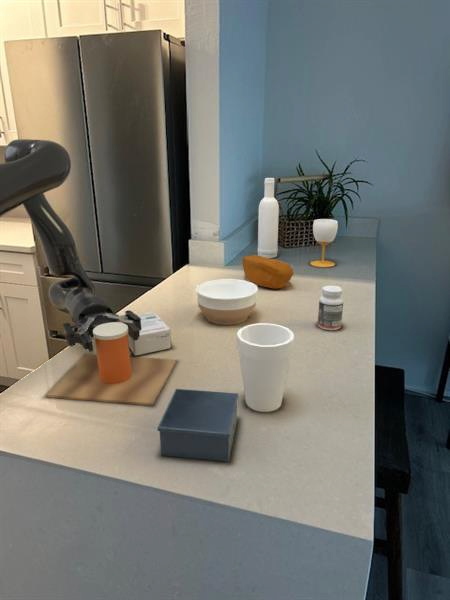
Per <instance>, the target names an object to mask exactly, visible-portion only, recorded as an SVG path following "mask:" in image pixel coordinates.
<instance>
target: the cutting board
mask: <svg viewBox="0 0 450 600" xmlns="http://www.w3.org/2000/svg"><path fill="white" fill-rule="evenodd" d="M176 363H177V359H166V358H150V357H137V356H130V364H131V377H130V378H129V379H128V380H126V381H124V382H121V383H117V384H107V383H104V382H102V381H101V380H100V376H99V368H98V360H97V354H91V353H90V354H89V353H84V355H83V356H82V357H81V358H80V359H79V360H78V361H77V362H76V363H75V364H74V365H73V367H71V368H70V369H69V370H68V371H67V372H66V373H65V374H64V375H63V376H62V377H61V379H59V381H58V382H57V383H55V385H54V386H53V387H52V388H51V389H50V390H49V391H48V392H47V393H46V394H45V397H46V398H53V399H66V400H76V401H77V400H78V401H87V402H88V401H91V402H103V403H115V404H125V405H126V404H127V405H138V406H149V407H150V406H151V407H153V406H154V404H155V402H156V401H157V399H158V398H159V395H160V393H161V392H162V389H163V388H164V386H165V384H166V382H167V380H168V378H169V377H170V374H171V372H172V370H173V369H174V366H175V365H176Z"/></svg>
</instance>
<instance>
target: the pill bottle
mask: <svg viewBox="0 0 450 600" xmlns="http://www.w3.org/2000/svg"><path fill="white" fill-rule="evenodd" d="M321 294H322V295H321V296H320V297H319V301H318V313H317V326H318V327H319V328H320V329H322V330H326V331H338V330H339V329H340V328H342V324H343V323H342V320H343V311H344V298H343V297H342V294H343V288H342V287H341V286H337V285H329V284H328V285H324V286H322V289H321Z"/></svg>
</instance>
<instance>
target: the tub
mask: <svg viewBox="0 0 450 600" xmlns="http://www.w3.org/2000/svg"><path fill="white" fill-rule="evenodd" d="M93 336H94V343H95V351H96V352H95V353H96V355H97V360H98V368H99V376H100V380H101V381H102V382H104V383H107V384H117V383H121V382H124V381H126V380H128V379H129V378H130V377H131V364H130V357H131V353H130V347H129V343H128V326H127V325H126V324H124V323H119V322H110V323H104V324H101V325H98V326H97V327H95V328H94V329H93Z"/></svg>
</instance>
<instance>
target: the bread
mask: <svg viewBox="0 0 450 600" xmlns="http://www.w3.org/2000/svg"><path fill="white" fill-rule="evenodd" d="M241 259H242V261H241V262H242V269H243V273H244V275H245V278H246V279H247V281H248V282H251V283H253V284H255V285H256V286H259V287H263V288H269V289H273V290H276V289H282V288H284V287H285V286H286V285H287V284H288V283H289V282H290V281H291V280H292V277H293V275H294V269H293V268H292V266H291V265H289V264H288V263H287V262H285V261H282V260H279V259H274V258H266V257H262V256H259V255H258V254H251V255H246V256H243V257H242V258H241Z"/></svg>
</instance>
